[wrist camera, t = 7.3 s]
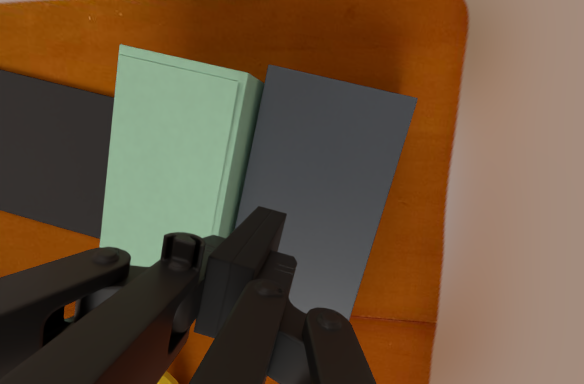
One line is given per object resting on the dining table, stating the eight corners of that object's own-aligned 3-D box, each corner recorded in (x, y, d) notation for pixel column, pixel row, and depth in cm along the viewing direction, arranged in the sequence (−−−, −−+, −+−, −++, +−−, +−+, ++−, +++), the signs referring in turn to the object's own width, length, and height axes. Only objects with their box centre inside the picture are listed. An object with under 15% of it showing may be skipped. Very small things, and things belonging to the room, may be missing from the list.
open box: (273, 89, 27) (179, 67, 28) (248, 72, 19) (119, 43, 20) (238, 259, 31) (156, 236, 31) (205, 304, 23) (96, 272, 23)
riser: (282, 78, 27) (268, 64, 21) (399, 105, 26) (418, 98, 20) (241, 268, 31) (220, 300, 25) (342, 296, 30) (343, 336, 24)
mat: (-62, 54, 31) (-66, 53, 31) (243, 129, 28) (242, 129, 28) (-60, 191, 34) (-63, 192, 34) (215, 270, 31) (214, 271, 31)
